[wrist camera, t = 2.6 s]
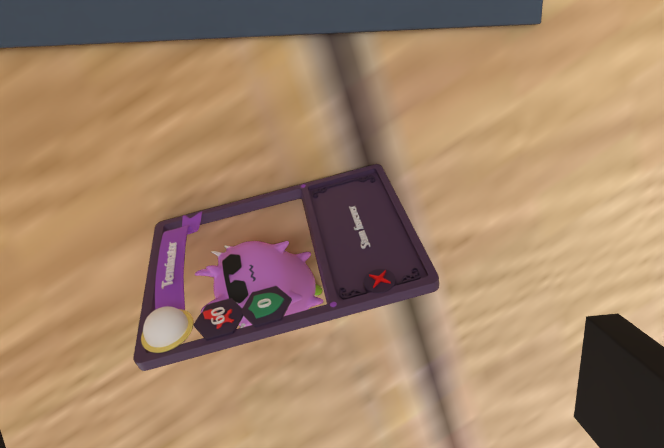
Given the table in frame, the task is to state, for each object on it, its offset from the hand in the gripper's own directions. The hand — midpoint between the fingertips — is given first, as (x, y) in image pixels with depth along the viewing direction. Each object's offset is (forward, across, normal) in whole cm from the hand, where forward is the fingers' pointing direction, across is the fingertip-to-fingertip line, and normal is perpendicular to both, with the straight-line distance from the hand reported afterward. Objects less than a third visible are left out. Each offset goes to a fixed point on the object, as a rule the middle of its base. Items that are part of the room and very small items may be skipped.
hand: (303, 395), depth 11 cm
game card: (+10, 0, 0) cm, 10 cm away
